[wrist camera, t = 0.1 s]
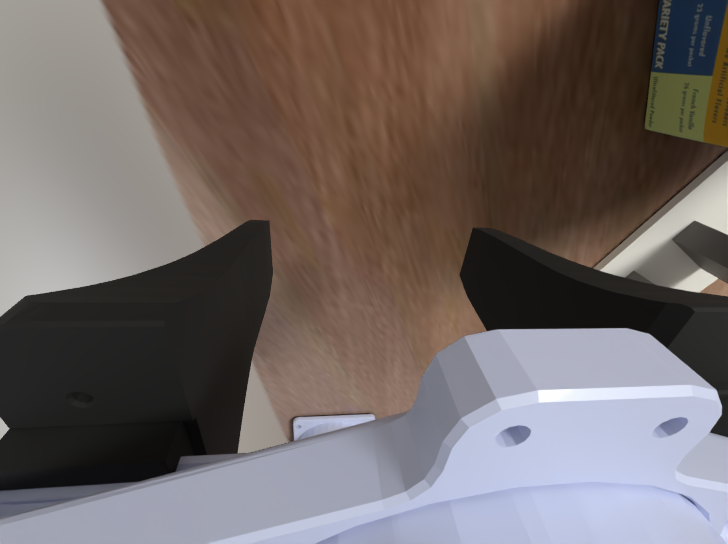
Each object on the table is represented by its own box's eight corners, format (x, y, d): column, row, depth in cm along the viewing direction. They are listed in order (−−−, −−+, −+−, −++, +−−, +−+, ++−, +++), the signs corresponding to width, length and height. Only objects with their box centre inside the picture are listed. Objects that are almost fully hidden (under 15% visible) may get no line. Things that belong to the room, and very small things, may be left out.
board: (497, 433, 38) (500, 439, 37) (432, 408, 34) (434, 414, 34) (787, 218, 26) (797, 221, 25) (735, 143, 22) (747, 145, 22)
